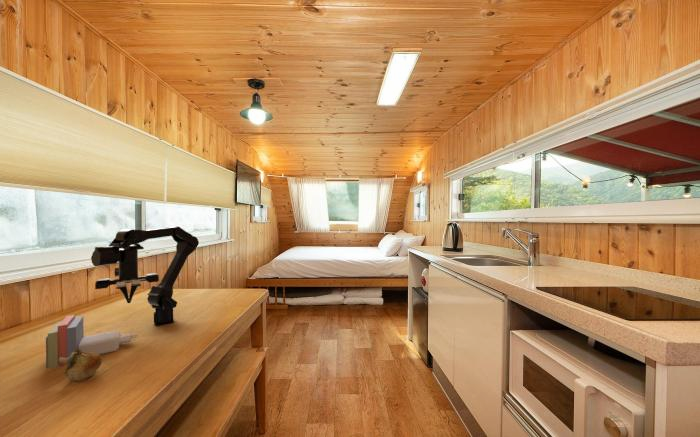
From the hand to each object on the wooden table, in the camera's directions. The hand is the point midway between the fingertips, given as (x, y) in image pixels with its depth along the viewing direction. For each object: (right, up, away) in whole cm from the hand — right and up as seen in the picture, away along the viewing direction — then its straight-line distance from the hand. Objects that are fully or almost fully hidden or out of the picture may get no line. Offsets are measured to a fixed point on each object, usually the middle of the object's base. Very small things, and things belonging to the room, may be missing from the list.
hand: (129, 302), depth 107 cm
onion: (+11, -12, -30) cm, 34 cm away
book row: (-6, -12, -18) cm, 22 cm away
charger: (+3, -12, -11) cm, 17 cm away
